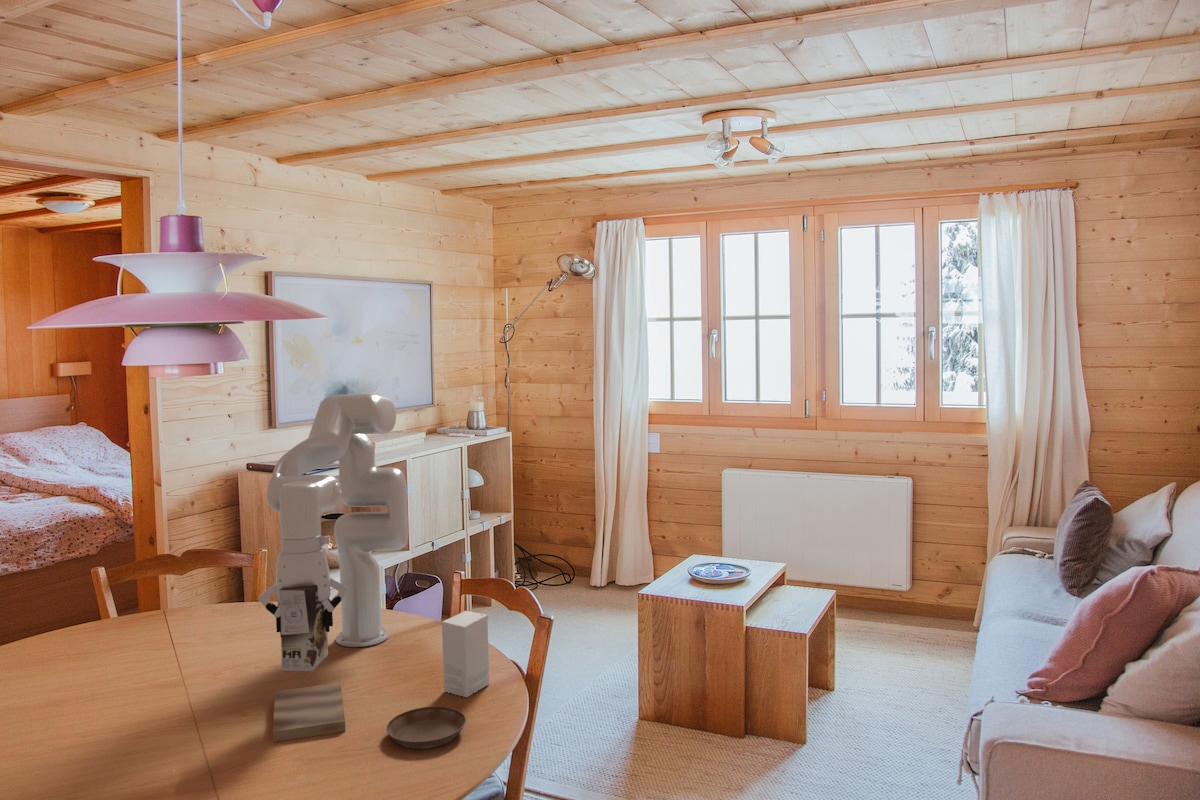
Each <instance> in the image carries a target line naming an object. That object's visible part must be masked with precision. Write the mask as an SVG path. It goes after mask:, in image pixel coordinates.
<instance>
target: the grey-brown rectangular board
mask: <svg viewBox="0 0 1200 800" xmlns="http://www.w3.org/2000/svg"><path fill="white" fill-rule="evenodd" d="M341 684H342V683H341V682H334V683H327V684H326V683H325V684H319V685H312V686H311V685H310V686H303V687H297V688H296V687H295V688H290V689H282V690H275V692H274V706H273V708H274V709H273V719H272V720H273V721H272V723H273V724H272V742H273V743H276V742H283V741H284V742H285V741H289V740H296V739H302V738H310V737H318V736H323V735H330V734H336V733H344V732H346V718H345V709H344V700H343V693H342V685H341Z"/></svg>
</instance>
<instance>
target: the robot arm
mask: <svg viewBox="0 0 1200 800" xmlns="http://www.w3.org/2000/svg"><path fill="white" fill-rule="evenodd" d="M396 423H397V411H396V406H395V405H394V403H393V401H392V400H391V399H389V398H388V397H385V396H381V395H378V394H373V393H352V394H351V393H350V394H349V393H348V394H347V393H346V394H345V393H344V394H341V393H340V394H339V393H338V394H332V395H329V396H326V397H324V398H323V400H322V401H321V402H320V404H319V406H318V408H317V411H316V414H315V417H314V420H313V423H312V426H311V429H310V432H309V435H308V437H307V438H306V439H304V440H303V441H301V442H299V443H298V444H296V445H295V446H294V447H292V448H291V449H290V450H288V451H287V452H285V453H284V454H283V455H282V456H281V457H280V458H279V459H278V460H277V462H276V464H275V466H274V469H273V470H272V474H271V477H270V479H269V482H268V485H267V486H268V487H267V491H266V497H267V498H266V500H267V503H268V505H269V507H270V508H271V510H273V511H274V512H276V513H279V524H280V543H281V544H280V547H281V551H279V552H277V557H276V564H275V583H274V584H272V585H271V586H270V587H268V588H267V589H266V590H264V591H263V592H262V593H261V594H260V595H258V601H259V602H260V603H261V604H262V606H263V607H264V608H265V609H266V610H267V611H268V612H270V614H272V615H273V616H274V617H275V622H276V623H275V625H276V633H280V636H281V607H280V590H281V589H282V588H293V587H299V586H311V585H317V586H318V597H319V601H321V602H322V604H323V605H324V606H325V608H326V609H325V629H326V632H327V633H330V627H333V625H334V620H333V617H334V616H333V611H335V609H336V607H338V606H339V604H340V606H341V607H340V610H341V631H340V632H338V633H337V634H336V636H335V642H336V643H337V644H338V645H340V646H344V647H348V648H361V647H368V646H373V645H377V644H381V643H383V642H384V641H386V640H387V639H388V638H389V634H390V633H389V630H388V629H387V628H385V627H383V624H382V622H383V621H382V595H381V569H380V565H379V563H378V561H377V559H376V558H375V557H374V555H373V554H372V552H392V551H393V552H394V551H400V550H402V549H404V548H405V547H406V545H407V542H408V538H409V537H408V535H409V530H408V529H409V523H408V521H409V519H408V518H409V517H408V488H407V487H408V486H407V481H406V480H407V479H406V476H405V474H404V472H403V471H402V470H401V469H399V468H397V467H390V466H387V467H377V466H376V463H375V456H376V455H375V447H374V444H373V443H372V441H371V440H370V438H369V437H368V435H374V434H375V435H377V434H379V435H381V434H382V435H384V434H389V433H390V432H392V431H393V430H394V428H395V425H396ZM336 462H338V471H339V472H338V475H339V476H338V477H339V479H337V478H336V477H335V476H333V475H329V474H328V475H327V474H326V475H325V474H316V475H315V474H307V473H308V472H312V471H315V470H318V469H320V468H321V469H322V468H324V467H326V466H329V465H331V464H334V463H336ZM340 501H341V502H342V503H343V505H345V506H346V507H347V506H348V507H353V508H355V507H356V508H359V507H360V508H362V507H364V508H367V507H368V508H370V507H372V508H373V507H375V508H376V507H379V508H380V507H384V508H385V510H386V511H355V512H349V513H344V514H342V515H340V516H339V517H338V518H337V519H336V521H335V523H334V527H333V534H334V539H335V545H336V549H337V554H338V555H337V556H338V562H339V563H338V564H339V581H340V582H338V581H336V580H335V579H333V578H331V576H330V575H331V574H330V564H329V556H328V553H327V550H326V548H324V545H326V544H327V545H329V544H330V536H324V535H322V520H321V514H322V513H327V512H330V511H332V510H334V509H335V508H337V506H338V505H339V503H340ZM331 588H332V589H334V590H336V591H337V593H336V595H335V596H334V597H333V598H331V599H330V597H331ZM274 594H275V597H276V601H277V605H275V604H274V603H273V602H271V600H270V599H269V598H271V596H273V595H274Z"/></svg>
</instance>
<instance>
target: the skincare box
mask: <svg viewBox="0 0 1200 800" xmlns="http://www.w3.org/2000/svg"><path fill="white" fill-rule="evenodd" d="M488 617H489V615H488V614H485V613H481V612H480V613H479V612H474V611H469V610H464V611H462V612H460V613H458V614H455V615H454V616H452V617H450V618H447V619H445V620H442V621H441V629H442V630H441V632H442V633H441V635H442V662H443V663H442V664H443V665H442V666H443V667H442V668H443V669H442V671H443V692H444V693H445V692H448V693H447V694H449V693H452V694H451V695H453V694H455V695H454V696H457V695H459V696H458V697H461V696H463V697H462V698H465V697H467V698H469V697H470V696H472V695H474V694H475V693H478V692H479V691H481V690H482V689H484V688H485V687H488V686H489V685H490V669H489V668H490V665H489V662H490V660H489V630H488V629H489V627H488V625H489V623H488ZM478 690H479V691H478ZM473 693H474V694H473Z"/></svg>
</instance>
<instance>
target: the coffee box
mask: <svg viewBox="0 0 1200 800" xmlns="http://www.w3.org/2000/svg"><path fill="white" fill-rule="evenodd" d="M280 607H281V635H280V638H281V639H280V643H281V645H280V647H281V671H284V672H285V671H287V672H313V671H314V670H315V669H316V668H317V667H318V666H319V665H320V664H321V663H322V662H323V661H324V660H325V659H326V657H328V655H329V648H328V647H329V646H328V645H329V643H328V641H329V638H328V632H326V629H325V609H326V608H325V606H324V605H323V604H322V602H321V601H319V597H318V586H317V585H311V586H299V587H293V588H282V589H281V590H280Z"/></svg>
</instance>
